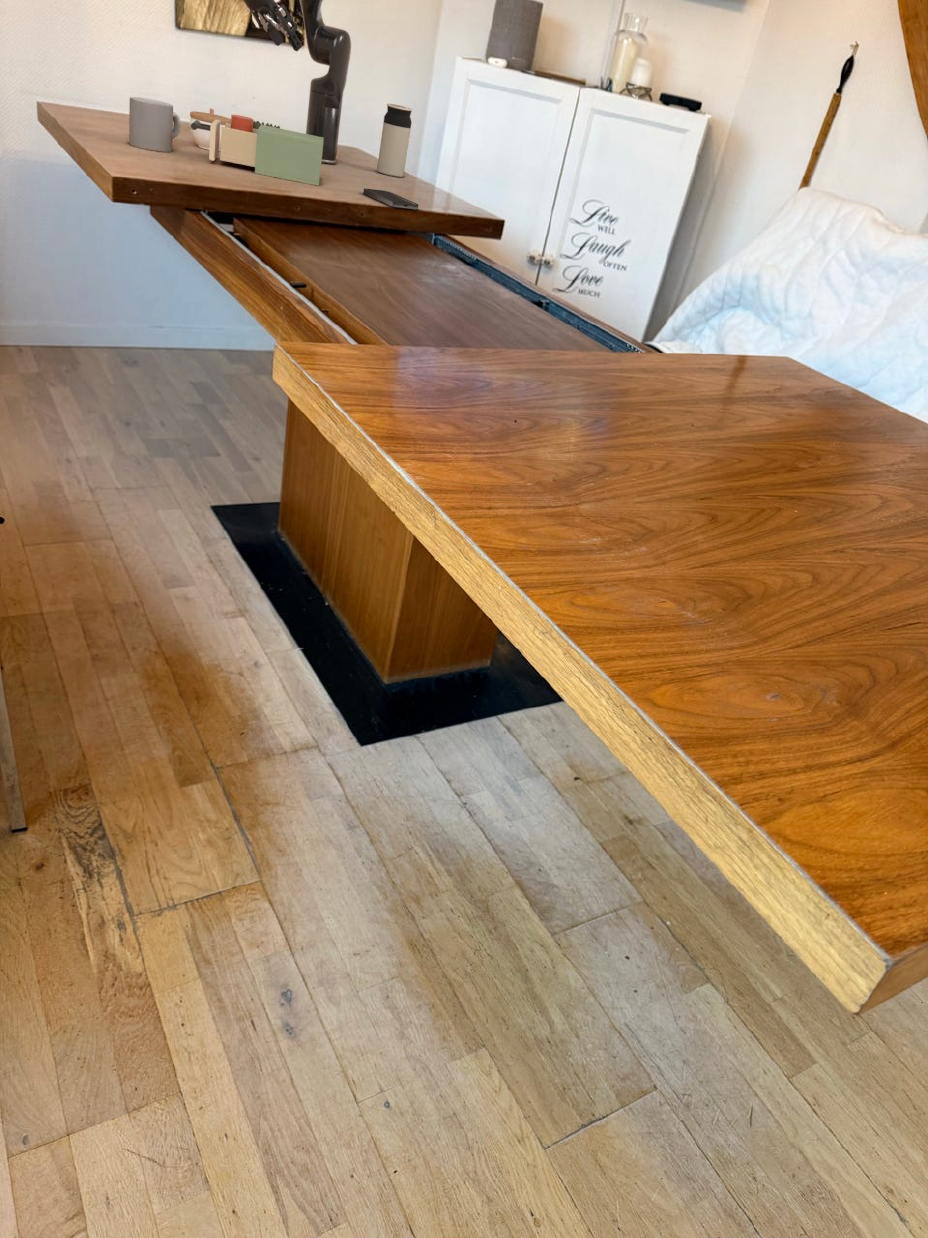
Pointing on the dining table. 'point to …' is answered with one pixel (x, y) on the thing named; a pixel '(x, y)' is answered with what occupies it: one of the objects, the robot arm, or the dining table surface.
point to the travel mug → (394, 140)
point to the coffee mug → (152, 124)
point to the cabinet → (288, 155)
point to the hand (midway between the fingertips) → (289, 45)
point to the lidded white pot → (203, 135)
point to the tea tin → (242, 123)
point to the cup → (257, 124)
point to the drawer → (230, 143)
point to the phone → (390, 199)
